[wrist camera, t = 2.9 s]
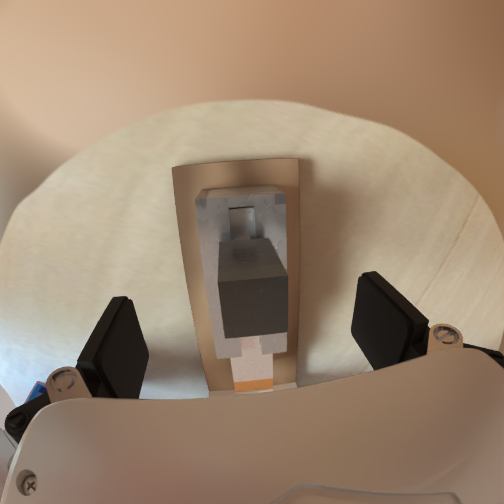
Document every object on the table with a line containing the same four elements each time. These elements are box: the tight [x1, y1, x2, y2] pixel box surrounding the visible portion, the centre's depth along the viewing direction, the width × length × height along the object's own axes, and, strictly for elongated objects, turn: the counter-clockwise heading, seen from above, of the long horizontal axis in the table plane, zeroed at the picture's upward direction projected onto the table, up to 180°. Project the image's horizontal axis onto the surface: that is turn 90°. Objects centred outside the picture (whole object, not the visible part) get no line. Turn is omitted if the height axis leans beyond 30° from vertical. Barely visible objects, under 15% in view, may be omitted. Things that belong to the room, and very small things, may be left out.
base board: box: [172, 158, 300, 391], centre depth 27 cm, size 10×30×2 cm, turn 3°
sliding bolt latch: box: [218, 206, 288, 392], centre depth 19 cm, size 4×17×10 cm, turn 4°
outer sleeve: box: [195, 184, 287, 359], centre depth 22 cm, size 6×12×5 cm, turn 3°
